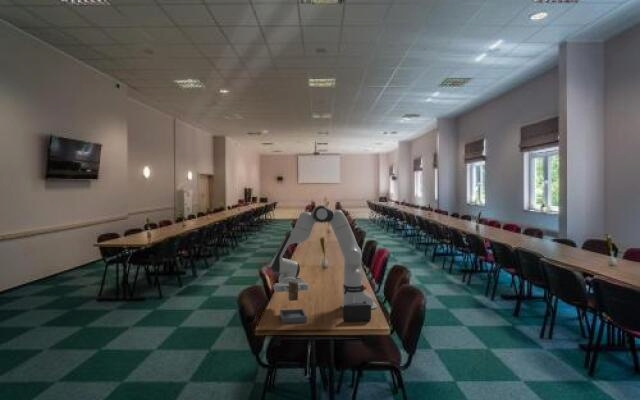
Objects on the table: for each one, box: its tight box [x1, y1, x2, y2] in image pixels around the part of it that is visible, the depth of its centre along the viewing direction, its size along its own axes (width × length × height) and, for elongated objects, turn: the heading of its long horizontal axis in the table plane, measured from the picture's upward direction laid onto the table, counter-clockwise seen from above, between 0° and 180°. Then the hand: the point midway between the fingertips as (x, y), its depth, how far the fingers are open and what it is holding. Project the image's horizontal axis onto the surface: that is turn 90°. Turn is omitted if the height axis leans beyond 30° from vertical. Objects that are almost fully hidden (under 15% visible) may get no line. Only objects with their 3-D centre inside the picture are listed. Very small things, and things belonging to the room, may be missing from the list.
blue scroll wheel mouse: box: [342, 303, 372, 323], centre depth 208 cm, size 16×5×9 cm, turn 97°
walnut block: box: [288, 281, 299, 302], centre depth 210 cm, size 4×4×10 cm
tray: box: [279, 308, 308, 324], centre depth 210 cm, size 14×14×3 cm
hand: (293, 290), depth 209 cm, fingers closed on walnut block, 4 cm apart
